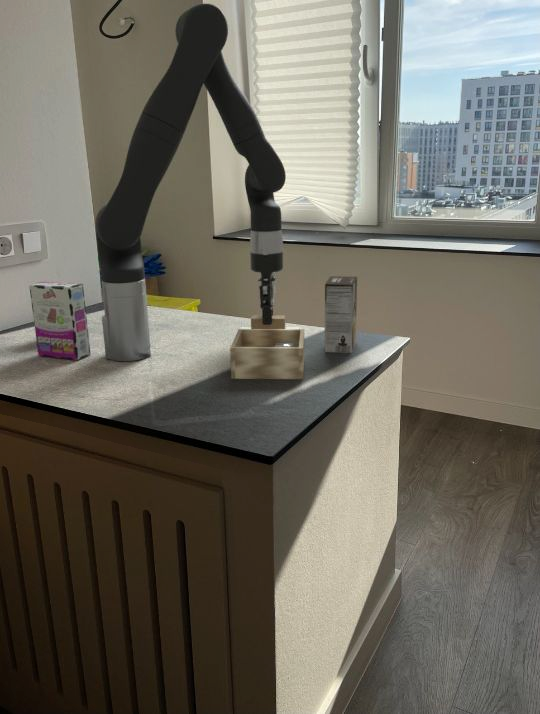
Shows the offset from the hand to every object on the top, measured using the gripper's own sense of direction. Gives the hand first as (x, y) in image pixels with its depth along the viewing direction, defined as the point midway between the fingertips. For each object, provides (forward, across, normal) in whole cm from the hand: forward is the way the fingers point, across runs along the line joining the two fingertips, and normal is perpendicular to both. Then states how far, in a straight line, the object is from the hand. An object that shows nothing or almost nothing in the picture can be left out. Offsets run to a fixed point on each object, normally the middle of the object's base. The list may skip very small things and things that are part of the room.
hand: (267, 321), depth 153 cm
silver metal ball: (+3, +21, +5) cm, 22 cm away
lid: (+4, 0, 0) cm, 4 cm away
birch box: (+4, +24, +2) cm, 24 cm away
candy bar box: (+5, +14, -45) cm, 47 cm away
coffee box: (+4, +9, +17) cm, 20 cm away
